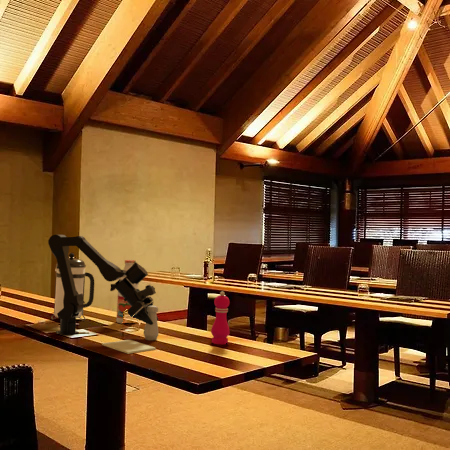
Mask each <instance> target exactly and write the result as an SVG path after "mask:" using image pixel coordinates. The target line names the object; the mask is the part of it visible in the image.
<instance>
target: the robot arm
mask: <svg viewBox="0 0 450 450" xmlns="http://www.w3.org/2000/svg"><path fill="white" fill-rule="evenodd" d="M47 242H48V243H47V244H48V247H49V248H50V251H51V253H52V255H54V257H55V259H56V264H58V268H59V272H60V276H61V281H62V285H63V289H64V299H63V305H64V308H63V309H62V310H61V311H60V312H58V313H57V315H58V317H57V319H59V320H60V323H59V324H60V325H59V330H56V333H57V334H60V335H63V336H67V335H76V334H78V335H79V334H80V333H79V331H76V329H77V328H76V327H77V318H76V316H78V314H79V312H81V311H82V309H83V310H84V309H85V308H84V304H86V301H85V299H84V300H83V294H82V293H81V294H78V292H77V291H76V288H75V283H74V279H73V275H72V271H71V266H70V262H69V258H70V257H69V253H70V252H69V251H70V247H76V248H78V249H79V250H80V251H81V252H82V253H83V254H84V255H85V256H86V257H87V258H88V259H89V260H90V261H91V262H92V263H93V264H94V265H95V266H96V267H97V269H98V271H99V273H100V274H101V276H102V278H103V279H104V280H105V281H107V282H115V281H116V282H115V283H110V292H113V291H115V290H117V293H118V292H119V293H120V294H121V295H122V296H123V298H124V301H125V302H126V301H127V302H128V303H129V304H130V306H131V307H130V308H129V309H128V314H129V315H130V316H131V317H132V316H133V315H134V314H135V315H134V316H133V318H136V319H138V320H139V321H141V322H143V323H145V324H146V323H147V324H150V325H152V324H153V322H152V320H151V318H150V317H149V315H148V312H147V307H148V306H154V298H152V297H151V296H153V295H155V294H156V287H154V285H152V284H148V285H146V286H145V288H144V289H142V290H140V289H139V288H138V289H135V287H134V286H133V285H132V284H134V283H135V284H138V283H139V284H140V283H141V281H143V280H144V279H145V278H146V277H147V276H148V275H149V273H148V271H147V270H146V268H144V267H143V266H142V265H141V264H139V263H138V262H137V261H136V263H134V264H133V265H132V267H131V268H129V269H128V270H127V271H126V270H123V269H121V267H119V266H118V265H116V264H115V263H113V262H112V261H110V260H108V259H107V258H105V257H104V256H103V255H102V254H101V253H100V252H99V251H98V250H97V249H96V248H95V247H94V246H93V245H92V244H91V243H90V242H89V241H88V240H87V239H86V238H85V236H83V235H77V236H66V235H65V234H52V235H51V236H49V239H48V240H47ZM124 276H126V277H125V278H124V279H123V280H120V279H119V278H121V277H124ZM128 280H129V281H130V282H131V283H132V284H131V283H130V282H129V281H128ZM139 284H138V285H139ZM158 321H159V317H158V316H157V322H158Z"/></svg>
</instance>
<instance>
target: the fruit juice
mask: <svg viewBox="0 0 450 450" xmlns="http://www.w3.org/2000/svg"><path fill="white" fill-rule="evenodd" d="M136 262H137V261H136V260H135V259H134V260H133V259H125V260H124V264H125V265H124V267H123V269H122V270H126V271H127V270H128V269H129V268H131V267H132V265H133V264H134V263H136ZM125 277H126V276H124V277H121V278H119V279H120V280H123V279H124V278H125ZM119 279H118V280H119ZM128 281H129V280H128ZM129 282H130V281H129ZM130 283H131V282H130ZM131 284H132V283H131ZM139 284H140V282H139V283H138V284H135V283H134V284H132V285H133V286H134V287H135V289H139ZM130 307H131V306H130V304H129V303H128V302H127V301H126V302H125V301H124V298H123V296H122V295H121V294H120V293H119V292H118V291H117V303H116V323H117V324H122V322H123V311H125V310H126V309H129V308H130ZM122 325H123V324H122Z"/></svg>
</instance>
